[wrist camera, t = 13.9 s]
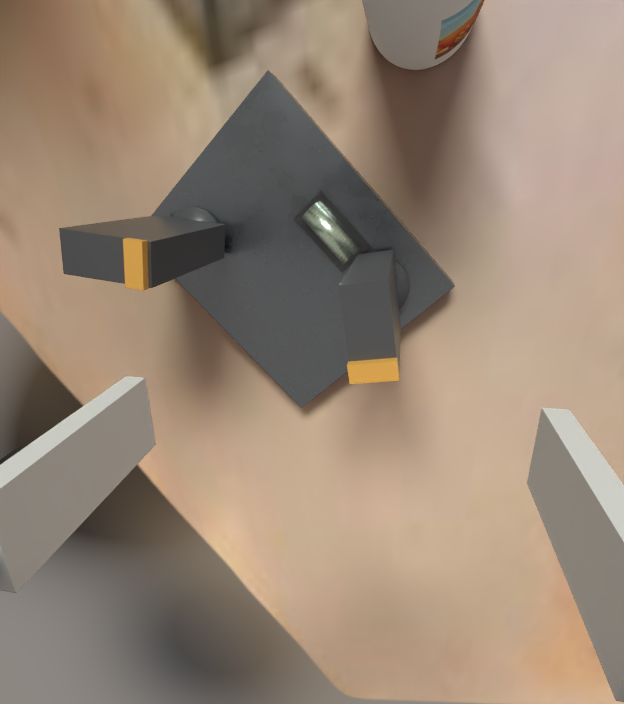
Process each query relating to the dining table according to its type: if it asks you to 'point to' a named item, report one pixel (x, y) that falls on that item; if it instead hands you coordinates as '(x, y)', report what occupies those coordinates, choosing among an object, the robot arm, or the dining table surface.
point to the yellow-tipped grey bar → (143, 248)
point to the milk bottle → (420, 29)
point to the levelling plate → (291, 239)
